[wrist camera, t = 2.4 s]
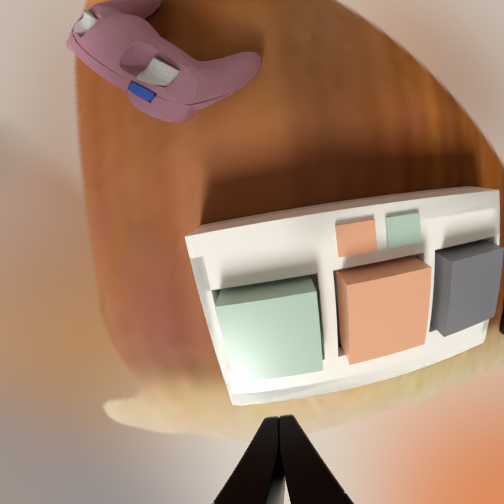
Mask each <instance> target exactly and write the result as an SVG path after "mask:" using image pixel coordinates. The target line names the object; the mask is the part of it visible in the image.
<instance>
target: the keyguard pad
mask: <svg viewBox="0 0 504 504" xmlns="http://www.w3.org/2000/svg"><path fill="white" fill-rule="evenodd" d="M499 236H500V201H499V190H495V189H488V188H481V187H473V186H464V187H454V188H443V189H434V190H425V191H416V192H407V193H399V194H391V195H383V196H375V197H367V198H360V199H353V200H346V201H339V202H332V203H325V204H319V205H312V206H306V207H299V208H293V209H287V210H281V211H275V212H269V213H263V214H258V215H252V216H246V217H241V218H235V219H230V220H224V221H219V222H214V223H209V224H203V225H199V226H198V227H197V228H195V229H194V230H193V231H192V232H190V233H189V234H188V235H186V236H185V240H186V244H187V248H188V253H189V257H190V261H191V265H192V269H193V273H194V277H195V281H196V285H197V288H198V292H199V296H200V300H201V303H202V307H203V311H204V314H205V318H206V321H207V325H208V328H209V332H210V335H211V339H212V342H213V345H214V349H215V352H216V355H217V358H218V362H219V365H220V368H221V371H222V374H223V377H224V380H225V383H226V386H227V389H228V392H229V395H230V398H231V401H232V404H233V406H237V405H250V404H260V403H270V402H278V401H285V400H292V399H299V398H305V397H311V396H317V395H322V394H327V393H332V392H337V391H342V390H346V389H351V388H355V387H359V386H363V385H367V384H371V383H374V382H378V381H382V380H385V379H389V378H392V377H395V376H399V375H402V374H405V373H408V372H411V371H414V370H417V369H420V368H423V367H426V366H428V365H431V364H434V363H436V362H439V361H442V360H444V359H447V358H449V357H452V356H454V355H456V354H459V353H461V352H463V351H466V350H468V349H470V348H472V347H475V346H477V345H479V344H481V343H483V342H484V340H485V336H486V332H487V327H488V323H489V319H487V320H485V321H483V322H481V323H478V324H476V325H474V326H471V327H469V328H466V329H464V330H461V331H459V332H456V333H454V334H451V335H448V336H446V337H443V336H442V335H441V334H440V333H439V332H438V331H437V329H436V328H435V327H434V326H433V325H432V324H431V323H430V321H431V312H432V301H433V288H434V269H435V250H437V249H442V248H446V247H451V246H455V245H460V244H464V243H468V242H473V241H477V240H481V239H484V240H486V241H489V242H491V243H494V244H496V245H499ZM409 255H413V256H414V257H416V258H418V259H419V260H421V261H423V262H424V263H426V264H428V265H429V266H431V267H432V268H431V289H430V303H429V313H428V322H427V331H426V338H425V344H423V345H420V346H417V347H414V348H411V349H407V350H404V351H401V352H397V353H394V354H390V355H387V356H383V357H379V358H376V359H372V360H368V361H364V362H360V363H356V364H351V365H349V363H348V360H347V358H346V355H345V353H344V350H343V348H342V346H341V343H340V332H339V313H338V297H337V284H336V273H335V270H338V269H343V268H349V267H354V266H359V265H365V264H370V263H375V262H380V261H385V260H390V259H395V258H400V257H405V256H409ZM304 275H310V278H311V280H312V282H313V284H314V287H315V289H316V291H317V301H318V311H319V322H320V333H321V346H322V360H323V371H317V372H312V373H306V374H300V375H294V376H287V377H280V378H273V379H265V380H256V381H247V382H235V378H234V375H233V372H232V368H231V365H230V361H229V358H228V354H227V351H226V347H225V344H224V340H223V337H222V333H221V329H220V326H219V322H218V318H217V314H216V311H215V304H216V302H217V299H218V296H219V294H220V291H221V289H223V288H230V287H236V286H243V285H249V284H256V283H262V282H268V281H274V280H281V279H287V278H293V277H298V276H304Z"/></svg>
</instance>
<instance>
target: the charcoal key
mask: <svg viewBox="0 0 504 504" xmlns="http://www.w3.org/2000/svg"><path fill="white" fill-rule="evenodd" d="M503 251H504V247H501V246H499V245H496V244H494V243H491V242H489V241H486V240H484V239H481V240H477V241H473V242H468V243H464V244H460V245H455V246H451V247H446V248H442V249H437V250H435V269H434V288H433V301H432V312H431V321H430V323H431V324H432V325H433V326H434V327H435V328H436V329H437V331H438V332H439V333H440V334H441V335H442V336H443V337H446V336H448V335H451V334H454V333H456V332H459V331H461V330H464V329H466V328H469V327H471V326H474V325H476V324H478V323H481V322H483V321H485V320H487V319H490V318H492V317H494V315H495V311H496V305H497V300H498V294H499V287H500V280H501V272H502V263H503Z"/></svg>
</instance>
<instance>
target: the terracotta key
mask: <svg viewBox="0 0 504 504" xmlns="http://www.w3.org/2000/svg"><path fill="white" fill-rule="evenodd" d="M431 268H432V267H431V266H429V265H428V264H426V263H424V262H423V261H421V260H419V259H418V258H416V257H414V256H413V255H409V256H405V257H400V258H395V259H390V260H385V261H380V262H375V263H370V264H365V265H359V266H354V267H349V268H343V269H338V270H335V273H336V284H337V297H338V313H339V332H340V343H341V346H342V348H343V350H344V353H345V355H346V358H347V360H348V363H349V365H351V364H356V363H360V362H364V361H368V360H372V359H376V358H379V357H383V356H387V355H390V354H394V353H397V352H401V351H404V350H407V349H411V348H414V347H417V346H420V345H423V344H425V338H426V331H427V322H428V313H429V303H430V289H431Z"/></svg>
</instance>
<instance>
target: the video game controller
mask: <svg viewBox="0 0 504 504" xmlns="http://www.w3.org/2000/svg"><path fill="white" fill-rule="evenodd" d="M160 4H161V0H111V1H107V2H103V3H99V4H95V5H93V6H91V7H90V8H89V9H88V10H84V14H83V15H82V17H81V18H80V19H79V20H78V21H77V22H76V23H75V25H74V26H73V29H72V31H71V33H70V36H69V38H68V40H67V43H66V45H67V47H68V48H69V49H70V50H72V51H73V52H75V53H76V55H77V56H78V57H79V58H80V59H81V60H82V61H83V62H84V63H85V64H86V65H87V66H88V67H90V68H91V69H92V70H94V71H95V72H96V73H98V74H99V75H100V76H102V77H103V78H105V79H106V80H108V81H109V82H111V83H112V84H114V85H116V86H117V87H119V88H121V89H123V90H124V91H126V94H127V97H128V99H129V101H130V102H131V103H132V104H133V105H134V106H135V107H136V108H138V109H139V110H140V111H142V112H144V113H146V114H148V115H150V116H151V117H154V118H157V119H160V120H163V121H167V122H174V123H177V122H185V121H188V120H189V119H190V118H191V117H192V116H193V115H194V113H195V112H196V111H198V110H201V109H204V108H206V107H208V106H210V105H212V104H214V103H216V102H218V101H220V100H222V99H225V98H226V97H228V96H230V95H232V94H233V93H235V92H237V91H238V90H239V89H241V88H242V87H244V86H245V85H246V84H247V83H249V82H250V81H251V80H252V79H253V78H254V77H255V76H256V75H257V73H258V71H259V69H260V67H261V63H262V59H261V56H260V55H259V54H258V53H256V52H249V51H246V52H240V53H237V54H233V55H230V56H227V57H223V58H219V59H215V60H210V61H198V60H195V59H194V58H192V57H191V56H189V55H188V54H187V53H185V52H184V51H182V50H181V49H180V48H178V47H177V46H175V45H173V44H172V43H170V42H168V41H167V40H165V39H163V38H162V37H161V36H160V35H159V34H158V33H157V31H156V30H155V29H154V28H153V27H152V26H151V25H150V24H149V23H148V22H147V21H145V20H144V19H146V18H147V17H148V16H150V15H151V14H153V13H154V12H155V11H156V10H157V8H158V7H159V6H160Z"/></svg>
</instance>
